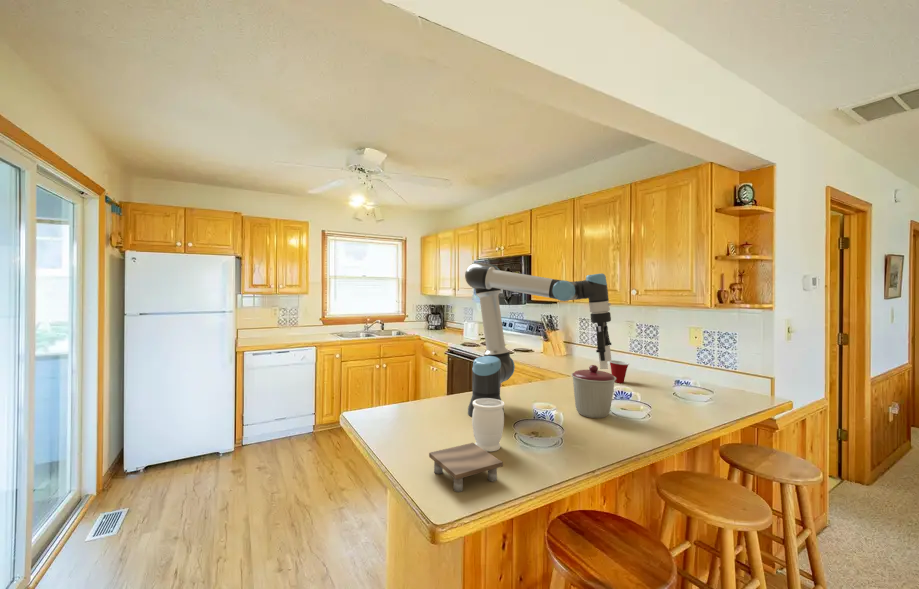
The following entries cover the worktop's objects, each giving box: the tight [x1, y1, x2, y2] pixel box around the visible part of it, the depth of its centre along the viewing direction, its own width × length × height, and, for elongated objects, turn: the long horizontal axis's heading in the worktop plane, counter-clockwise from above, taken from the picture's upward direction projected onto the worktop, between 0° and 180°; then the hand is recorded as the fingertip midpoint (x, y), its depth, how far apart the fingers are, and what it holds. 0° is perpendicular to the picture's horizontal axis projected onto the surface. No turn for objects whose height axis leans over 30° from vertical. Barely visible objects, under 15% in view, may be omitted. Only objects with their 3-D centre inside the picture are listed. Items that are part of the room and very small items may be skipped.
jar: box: [471, 398, 505, 453], centre depth 128 cm, size 11×10×15 cm
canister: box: [570, 364, 616, 419], centre depth 163 cm, size 18×18×21 cm
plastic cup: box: [608, 359, 630, 384], centre depth 222 cm, size 11×11×12 cm
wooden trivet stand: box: [428, 442, 504, 493], centre depth 108 cm, size 15×15×5 cm
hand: (606, 365), depth 154 cm, fingers open, 13 cm apart
